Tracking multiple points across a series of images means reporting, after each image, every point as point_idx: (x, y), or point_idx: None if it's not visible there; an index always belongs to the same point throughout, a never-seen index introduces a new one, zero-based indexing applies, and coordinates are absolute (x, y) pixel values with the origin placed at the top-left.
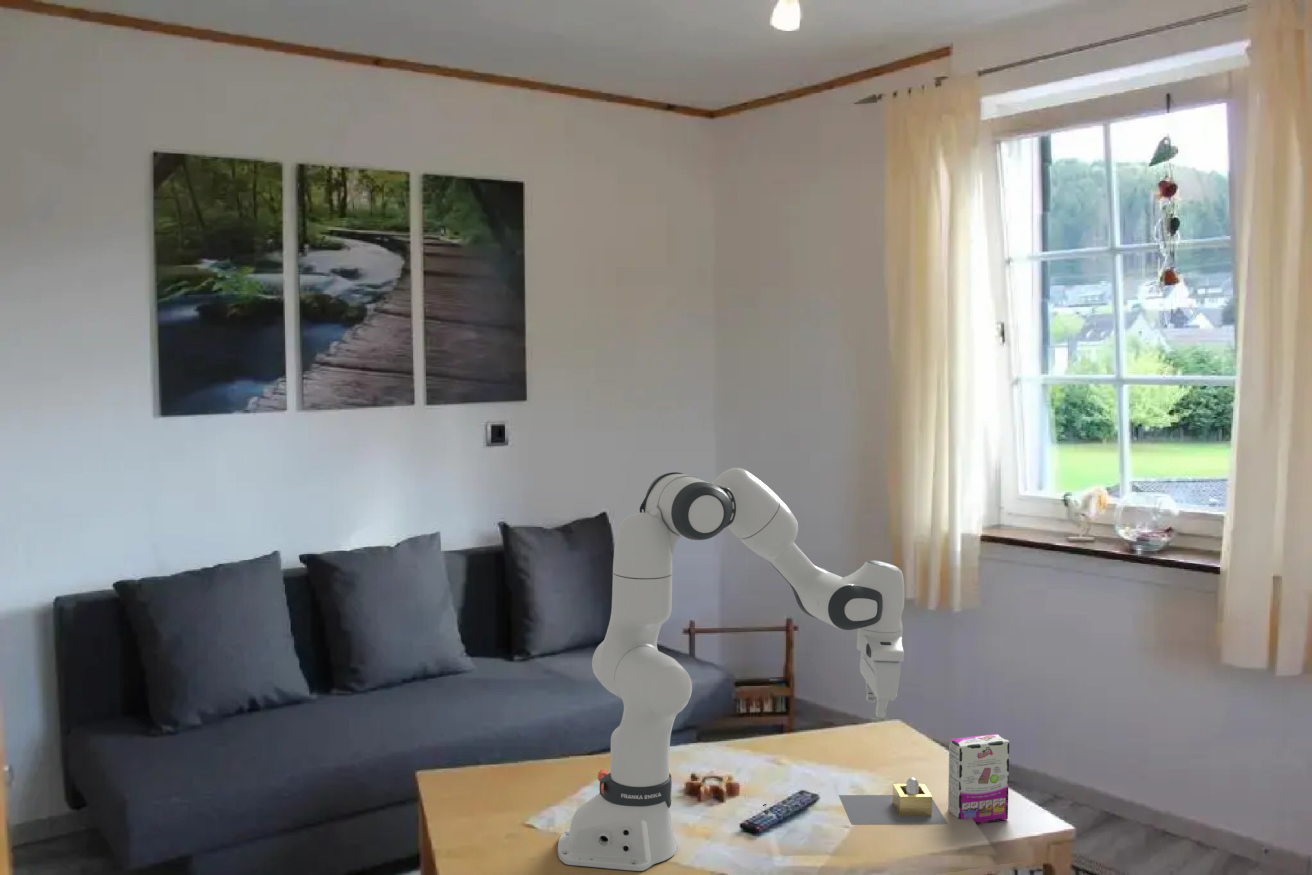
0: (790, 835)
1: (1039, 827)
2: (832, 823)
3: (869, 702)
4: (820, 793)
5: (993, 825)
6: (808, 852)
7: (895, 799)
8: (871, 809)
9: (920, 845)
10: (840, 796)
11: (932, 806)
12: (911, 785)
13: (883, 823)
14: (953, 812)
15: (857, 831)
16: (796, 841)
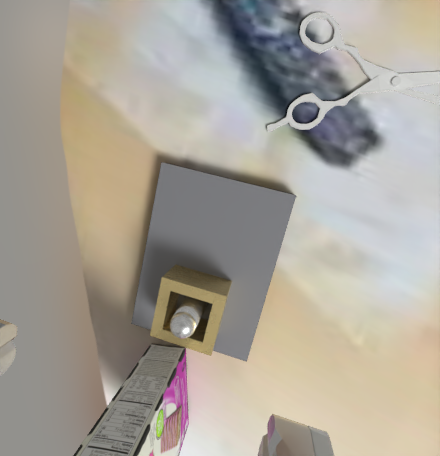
0: (175, 37)
1: None
2: (206, 142)
3: (271, 416)
4: (348, 175)
5: None
6: (106, 50)
7: (206, 280)
8: (213, 228)
9: (101, 251)
10: (288, 195)
11: None
12: (173, 316)
13: (153, 221)
14: (161, 353)
15: None
16: (149, 42)
